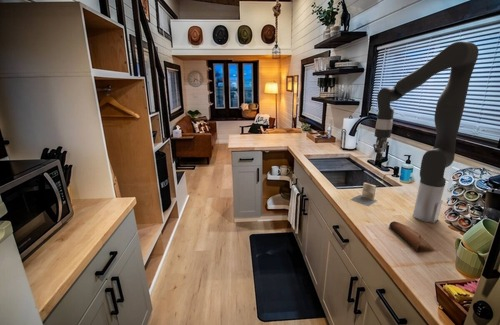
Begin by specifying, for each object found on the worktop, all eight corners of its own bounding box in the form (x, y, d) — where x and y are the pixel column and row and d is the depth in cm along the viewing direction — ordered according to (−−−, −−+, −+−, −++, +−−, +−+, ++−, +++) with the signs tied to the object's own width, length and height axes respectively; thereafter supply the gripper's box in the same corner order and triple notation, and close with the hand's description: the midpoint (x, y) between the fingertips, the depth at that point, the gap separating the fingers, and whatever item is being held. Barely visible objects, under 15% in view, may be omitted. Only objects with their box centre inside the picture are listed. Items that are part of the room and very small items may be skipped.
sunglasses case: (438, 251, 96) (433, 238, 94) (421, 260, 97) (415, 248, 95) (406, 226, 113) (401, 214, 111) (392, 233, 114) (387, 222, 112)
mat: (377, 201, 136) (377, 200, 136) (368, 207, 130) (368, 206, 130) (359, 195, 144) (359, 194, 144) (350, 200, 138) (350, 199, 138)
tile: (373, 199, 138) (376, 185, 135) (372, 200, 137) (374, 186, 134) (363, 195, 142) (365, 182, 140) (361, 196, 141) (363, 183, 139)
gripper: (385, 130, 125) (379, 164, 130) (396, 127, 133) (391, 159, 138) (370, 128, 131) (365, 160, 136) (382, 125, 139) (377, 156, 144)
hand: (378, 159), depth 137 cm, fingers closed
